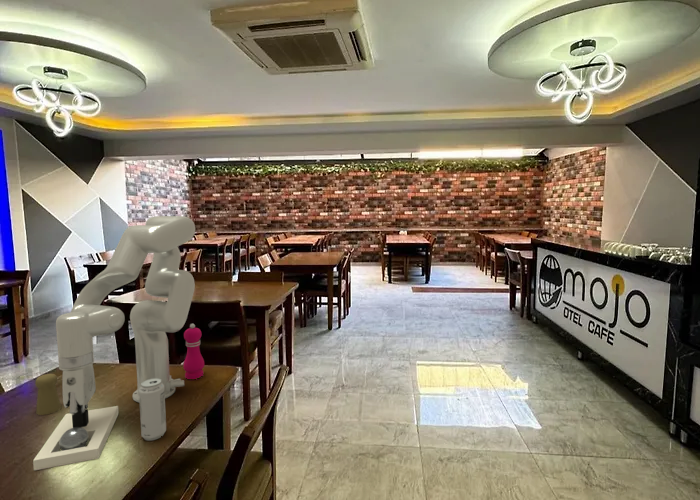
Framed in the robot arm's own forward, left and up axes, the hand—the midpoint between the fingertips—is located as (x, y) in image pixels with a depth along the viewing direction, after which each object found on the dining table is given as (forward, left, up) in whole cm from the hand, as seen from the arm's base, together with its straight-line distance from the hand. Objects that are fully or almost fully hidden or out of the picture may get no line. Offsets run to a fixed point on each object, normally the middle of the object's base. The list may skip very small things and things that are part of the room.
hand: (80, 425), depth 101 cm
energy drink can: (-18, +6, -4) cm, 19 cm away
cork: (+14, -20, -4) cm, 25 cm away
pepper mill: (-27, -30, -4) cm, 41 cm away
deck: (0, +1, -3) cm, 3 cm away
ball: (0, +6, 0) cm, 7 cm away
